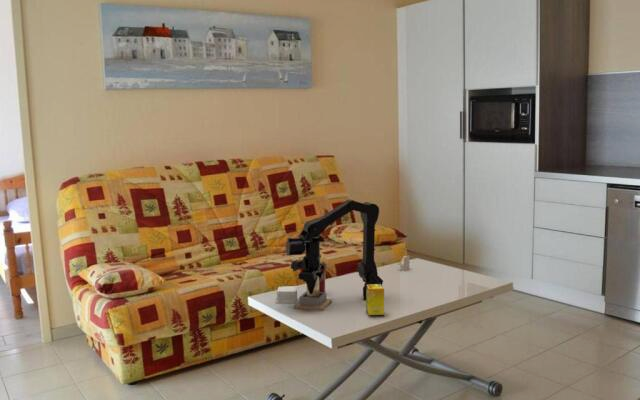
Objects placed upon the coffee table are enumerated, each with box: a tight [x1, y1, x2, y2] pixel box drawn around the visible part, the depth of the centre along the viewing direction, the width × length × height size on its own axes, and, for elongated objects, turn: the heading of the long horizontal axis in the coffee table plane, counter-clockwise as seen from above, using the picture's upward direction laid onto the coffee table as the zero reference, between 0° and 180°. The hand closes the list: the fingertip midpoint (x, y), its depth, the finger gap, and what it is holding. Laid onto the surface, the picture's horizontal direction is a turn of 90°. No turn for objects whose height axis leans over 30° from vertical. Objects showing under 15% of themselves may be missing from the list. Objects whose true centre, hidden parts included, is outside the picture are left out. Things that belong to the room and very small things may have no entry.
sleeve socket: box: [293, 290, 333, 312], centre depth 237 cm, size 12×12×4 cm
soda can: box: [319, 269, 326, 293], centre depth 251 cm, size 7×7×12 cm
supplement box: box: [365, 284, 385, 318], centre depth 224 cm, size 6×6×11 cm
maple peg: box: [306, 276, 319, 298], centre depth 236 cm, size 5×5×9 cm
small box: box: [276, 285, 298, 304], centre depth 243 cm, size 8×8×5 cm
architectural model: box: [397, 255, 411, 272], centre depth 292 cm, size 3×7×7 cm, turn 143°
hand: (313, 291), depth 236 cm, fingers closed on maple peg, 5 cm apart
